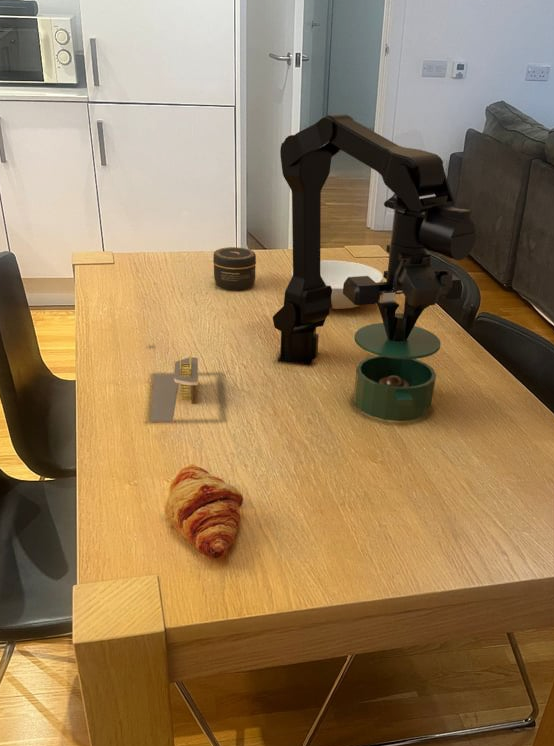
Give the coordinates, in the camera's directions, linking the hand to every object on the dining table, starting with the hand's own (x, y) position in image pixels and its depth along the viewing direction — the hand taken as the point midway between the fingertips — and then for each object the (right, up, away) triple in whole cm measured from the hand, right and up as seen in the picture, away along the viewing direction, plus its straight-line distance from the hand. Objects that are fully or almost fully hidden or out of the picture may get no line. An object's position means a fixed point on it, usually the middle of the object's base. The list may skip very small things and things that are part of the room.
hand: (397, 338), depth 125 cm
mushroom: (0, -10, +7) cm, 12 cm away
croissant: (-29, -29, -24) cm, 47 cm away
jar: (-32, +24, +56) cm, 69 cm away
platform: (-36, -9, +6) cm, 37 cm away
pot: (0, -10, +7) cm, 13 cm away
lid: (0, 0, 0) cm, 1 cm away
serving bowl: (-8, +18, +49) cm, 53 cm away
